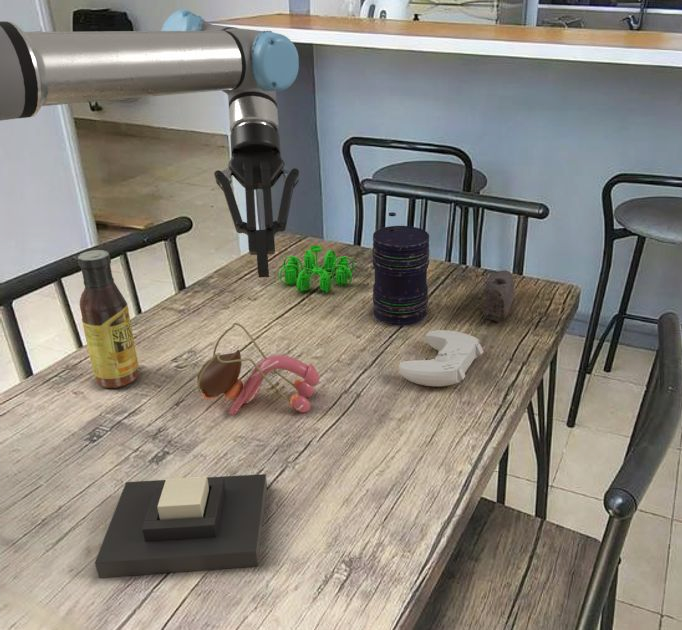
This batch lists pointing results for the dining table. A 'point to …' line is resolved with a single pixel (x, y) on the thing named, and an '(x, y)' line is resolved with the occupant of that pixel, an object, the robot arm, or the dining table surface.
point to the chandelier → (316, 270)
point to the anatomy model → (254, 378)
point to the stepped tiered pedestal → (185, 530)
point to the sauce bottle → (106, 323)
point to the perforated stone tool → (498, 296)
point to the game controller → (443, 359)
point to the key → (183, 498)
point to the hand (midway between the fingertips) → (263, 273)
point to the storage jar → (400, 274)
